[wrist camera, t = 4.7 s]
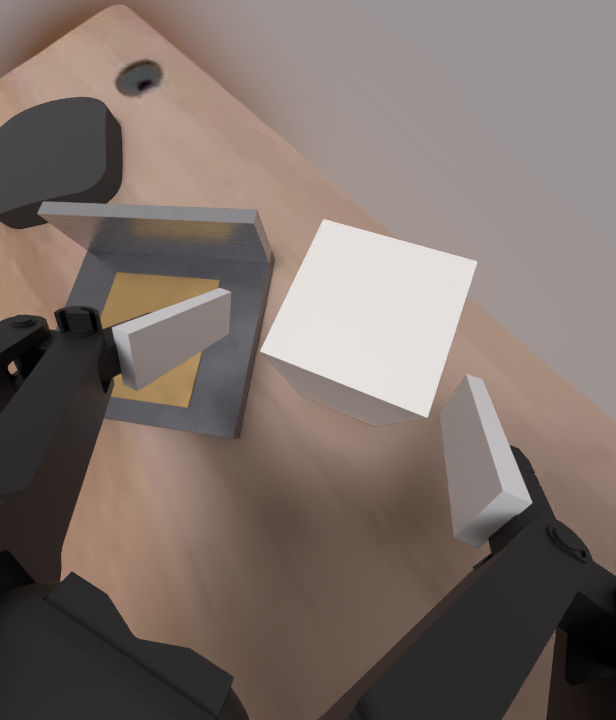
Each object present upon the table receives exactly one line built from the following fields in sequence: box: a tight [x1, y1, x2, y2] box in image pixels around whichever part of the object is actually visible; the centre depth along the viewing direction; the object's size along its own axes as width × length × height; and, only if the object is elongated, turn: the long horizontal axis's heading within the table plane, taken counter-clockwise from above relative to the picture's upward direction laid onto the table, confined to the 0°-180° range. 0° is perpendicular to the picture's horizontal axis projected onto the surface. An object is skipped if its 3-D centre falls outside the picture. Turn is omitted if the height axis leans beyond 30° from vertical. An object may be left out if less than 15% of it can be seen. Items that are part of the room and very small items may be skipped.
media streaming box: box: [0, 97, 122, 229], centre depth 30 cm, size 15×15×3 cm
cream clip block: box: [260, 219, 477, 427], centre depth 15 cm, size 6×6×12 cm
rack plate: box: [37, 201, 275, 439], centre depth 21 cm, size 18×16×6 cm
